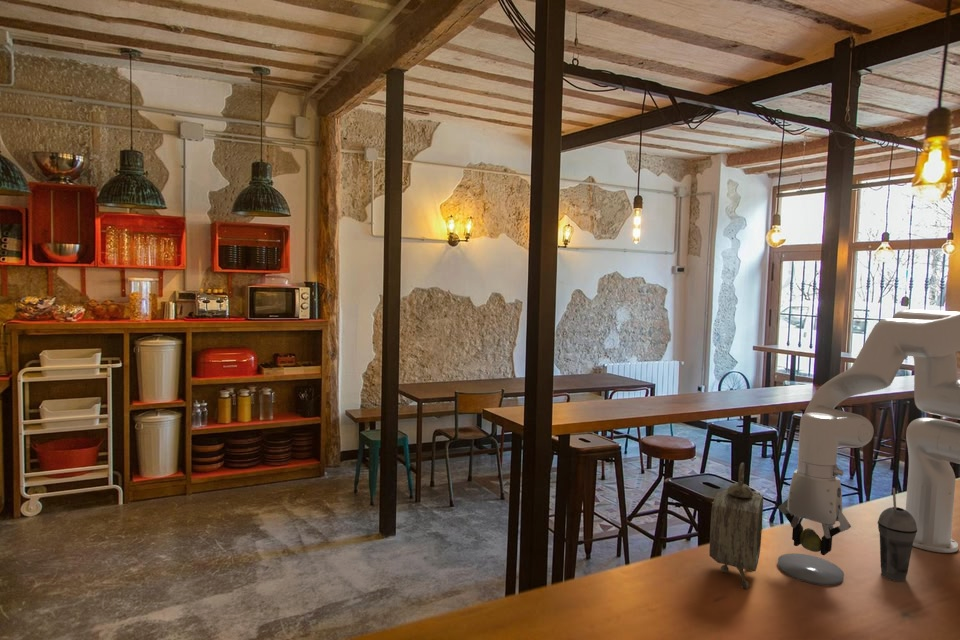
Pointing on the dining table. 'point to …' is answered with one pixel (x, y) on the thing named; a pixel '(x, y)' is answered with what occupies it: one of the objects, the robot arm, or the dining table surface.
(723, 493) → the tabletop clock
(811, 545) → the lime
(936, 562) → the dining table surface
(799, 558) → the slate plate
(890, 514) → the beverage cup
